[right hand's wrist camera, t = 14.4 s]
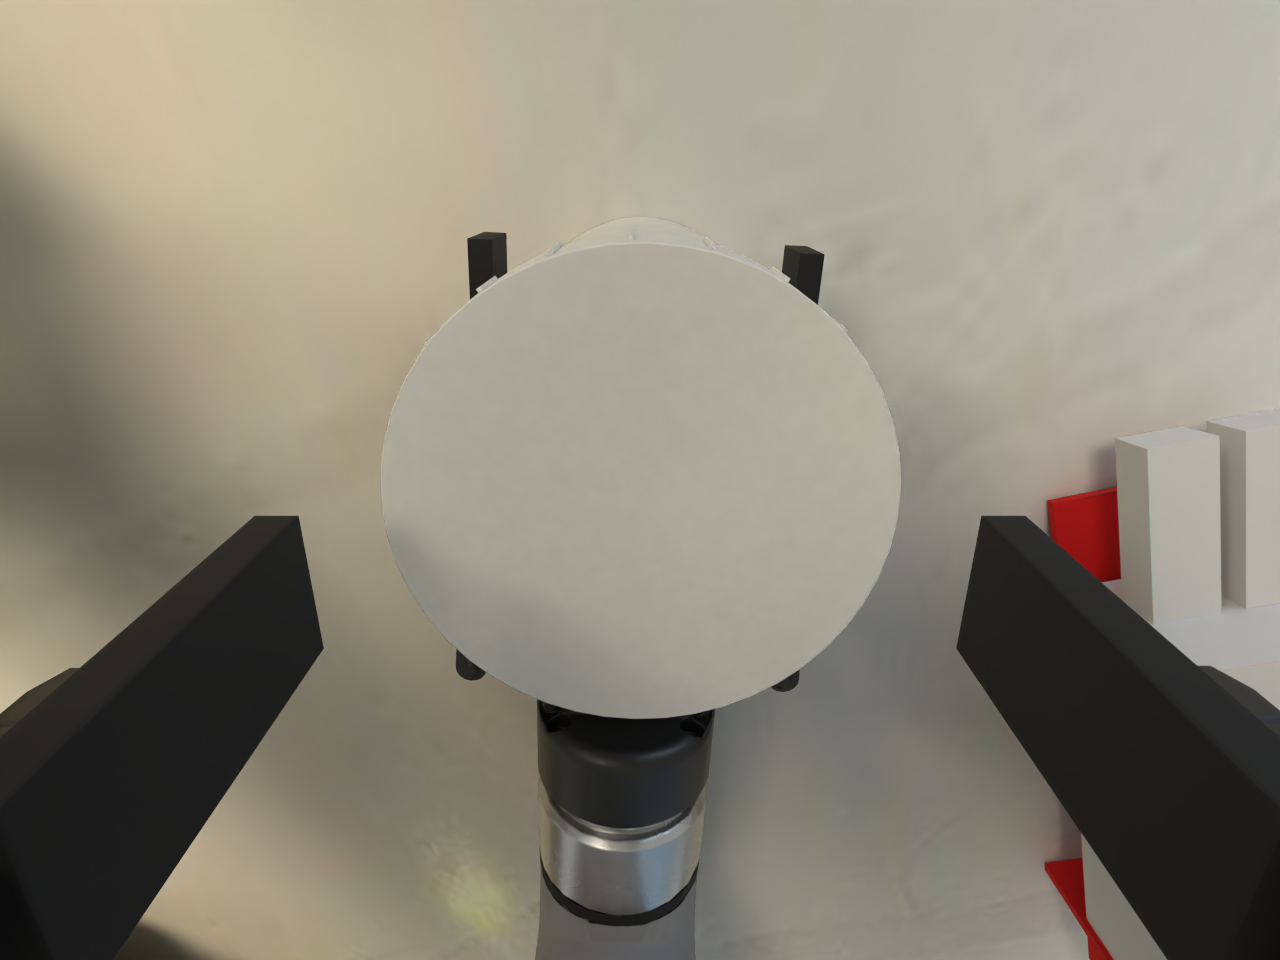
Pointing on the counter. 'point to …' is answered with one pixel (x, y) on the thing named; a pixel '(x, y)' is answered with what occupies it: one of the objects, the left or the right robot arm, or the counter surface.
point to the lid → (640, 477)
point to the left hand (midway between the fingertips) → (646, 242)
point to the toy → (1180, 590)
